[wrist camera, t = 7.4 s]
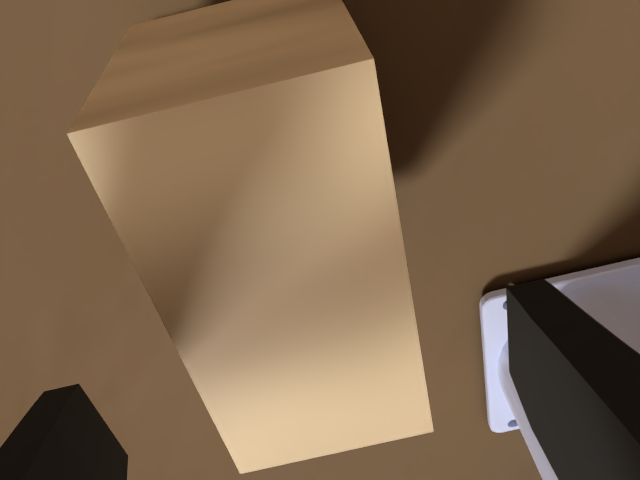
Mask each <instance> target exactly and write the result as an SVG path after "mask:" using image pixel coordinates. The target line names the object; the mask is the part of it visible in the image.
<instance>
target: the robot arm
mask: <svg viewBox="0 0 640 480" xmlns="http://www.w3.org/2000/svg"><path fill="white" fill-rule="evenodd" d="M505 301H507V303H504V302H505ZM479 306H480V319H481V333H482V347H483V361H484V375H485V388H486V402H487V416H488V423H489V426H490V428H491V430H492V431H494V432H498V433H500V432H506V431H511V430H515V429H520V431H521V433H522V435H523V437H524V439H525V442H526V444H527V446H528V448H529V451H530V453H531V455H532V457H533V459H534V462H535V464H536V466H537V468H538V470H539V473H540V475H541V477H542V479H543V480H640V258H636V259H631V260H627V261H622V262H618V263H614V264H609V265H605V266H600V267H596V268H592V269H587V270H583V271H579V272H574V273H570V274H565V275H561V276H557V277H552V278H548V279H540V280H536V281H531V282H527V283H522V284H518V285H514V286H509V287H506V288H504V289H500V290H495V291H492V292H489V293H487V294H485V295H484V296H483V297H482V298H481V300H480V304H479ZM127 464H128V455H127V454H126V452H125V451H124V449H123V448H122V446H121V445H120V443H119V442H118V440H117V439H116V437H115V436H114V435H113V433H112V432H111V430H110V429H109V427H108V426H107V424H106V423H105V421H104V420H103V418H102V417H101V416H100V414H99V413H98V411H97V410H96V408H95V407H94V405H93V404H92V402H91V401H90V399H89V398H88V396H87V395H86V394H85V392H84V391H83V389H82V388H81V386H80V385H79V384H76V385H71V386H67V387H62V388H58V389H54V390H49V391H45V392H43V394H42V395H41V396H40V397H39V398H38V400H37V401H36V402H35V403H34V405H33V406H32V407H31V408H30V410H29V411H28V412H27V413H26V415H25V416H24V417H23V419H22V420H21V421H20V423H19V424H18V425H17V427H16V428H15V429H14V430H13V432H12V433H11V434H10V436H9V437H8V438H7V440H6V441H5V442H4V444H3V445H2V446H1V448H0V480H127Z"/></svg>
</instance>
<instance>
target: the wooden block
mask: <svg viewBox="0 0 640 480" xmlns="http://www.w3.org/2000/svg"><path fill="white" fill-rule="evenodd" d="M67 135H68V137H69V139H70V141H71V143H72V145H73V147H74V149H75V151H76V153H77V155H78V157H79V159H80V161H81V163H82V165H83V167H84V169H85V171H86V173H87V175H88V177H89V179H90V180H91V182H92V184H93V186H94V188H95V190H96V192H97V194H98V196H99V198H100V200H101V202H102V204H103V206H104V208H105V210H106V212H107V214H108V216H109V218H110V220H111V222H112V224H113V225H114V227H115V229H116V231H117V233H118V235H119V237H120V239H121V241H122V243H123V245H124V247H125V249H126V251H127V253H128V255H129V257H130V259H131V261H132V263H133V265H134V267H135V269H136V271H137V272H138V274H139V276H140V278H141V280H142V282H143V284H144V286H145V288H146V290H147V292H148V294H149V296H150V298H151V300H152V302H153V304H154V306H155V308H156V310H157V312H158V314H159V316H160V318H161V319H162V321H163V323H164V325H165V327H166V329H167V331H168V333H169V335H170V337H171V339H172V341H173V343H174V345H175V347H176V349H177V351H178V353H179V355H180V357H181V359H182V361H183V363H184V365H185V366H186V368H187V370H188V372H189V374H190V376H191V378H192V380H193V382H194V384H195V386H196V388H197V390H198V392H199V394H200V396H201V398H202V400H203V402H204V404H205V406H206V408H207V410H208V412H209V413H210V415H211V417H212V419H213V421H214V423H215V425H216V427H217V429H218V431H219V433H220V435H221V437H222V439H223V441H224V443H225V445H226V447H227V449H228V451H229V453H230V455H231V457H232V459H233V460H234V462H235V464H236V466H237V468H238V470H239V472H240V474H242V473H246V472H251V471H256V470H260V469H265V468H269V467H274V466H278V465H283V464H288V463H292V462H297V461H301V460H306V459H310V458H315V457H320V456H324V455H329V454H333V453H338V452H343V451H347V450H352V449H356V448H361V447H365V446H370V445H375V444H379V443H384V442H388V441H393V440H397V439H402V438H407V437H411V436H416V435H420V434H425V433H429V432H434V431H433V425H432V419H431V412H430V406H429V400H428V394H427V387H426V381H425V375H424V369H423V362H422V356H421V350H420V344H419V337H418V331H417V325H416V319H415V312H414V306H413V300H412V294H411V287H410V281H409V275H408V269H407V262H406V256H405V250H404V244H403V237H402V231H401V225H400V219H399V212H398V206H397V200H396V194H395V187H394V181H393V175H392V169H391V162H390V156H389V150H388V144H387V137H386V131H385V125H384V119H383V112H382V106H381V100H380V94H379V87H378V81H377V75H376V69H375V62H374V58H373V56H372V54H371V52H370V50H369V49H368V47H367V45H366V43H365V41H364V39H363V38H362V36H361V34H360V32H359V30H358V28H357V27H356V25H355V23H354V21H353V19H352V18H351V16H350V14H349V12H348V10H347V8H346V7H345V5H344V3H343V1H342V0H231V1H227V2H223V3H219V4H215V5H211V6H207V7H203V8H199V9H195V10H191V11H187V12H183V13H179V14H175V15H171V16H167V17H163V18H159V19H155V20H151V21H147V22H143V23H139V24H135V25H131V26H130V27H129V29H128V31H127V32H126V34H125V36H124V37H123V39H122V41H121V42H120V44H119V46H118V48H117V49H116V51H115V53H114V54H113V56H112V58H111V59H110V61H109V63H108V64H107V66H106V68H105V70H104V71H103V73H102V75H101V76H100V78H99V80H98V81H97V83H96V85H95V87H94V88H93V90H92V92H91V93H90V95H89V97H88V98H87V100H86V102H85V103H84V105H83V107H82V109H81V110H80V112H79V114H78V115H77V117H76V119H75V120H74V122H73V124H72V126H71V127H70V129H69V131H68V132H67Z"/></svg>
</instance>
